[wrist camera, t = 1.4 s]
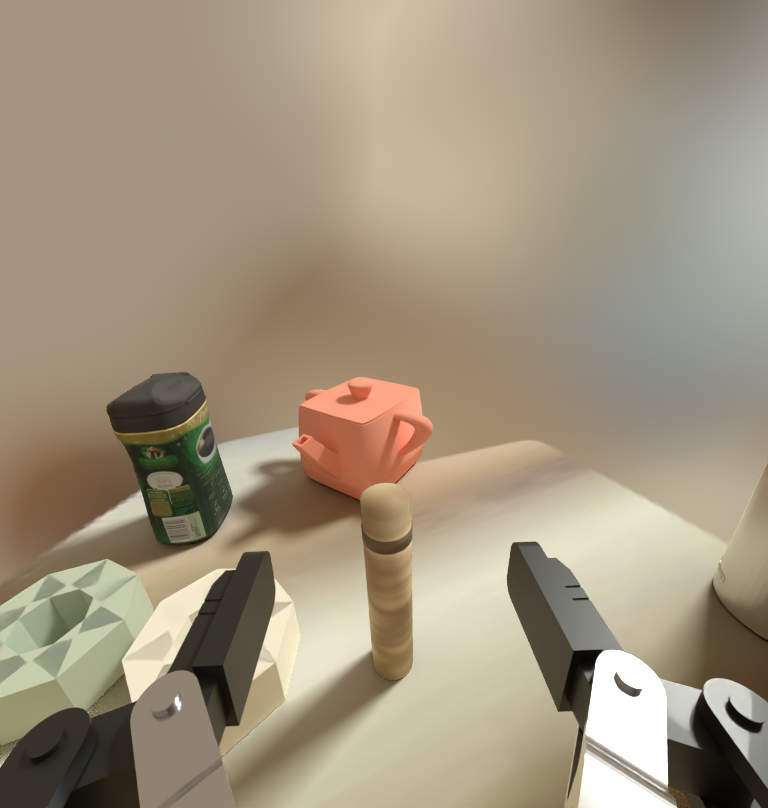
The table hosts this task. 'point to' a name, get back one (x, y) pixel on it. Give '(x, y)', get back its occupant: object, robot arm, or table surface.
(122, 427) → the coffee jar
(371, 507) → the grooved wooden dowel
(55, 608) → the sage bead
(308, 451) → the teapot
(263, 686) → the cream octagonal ring
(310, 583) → the table surface
